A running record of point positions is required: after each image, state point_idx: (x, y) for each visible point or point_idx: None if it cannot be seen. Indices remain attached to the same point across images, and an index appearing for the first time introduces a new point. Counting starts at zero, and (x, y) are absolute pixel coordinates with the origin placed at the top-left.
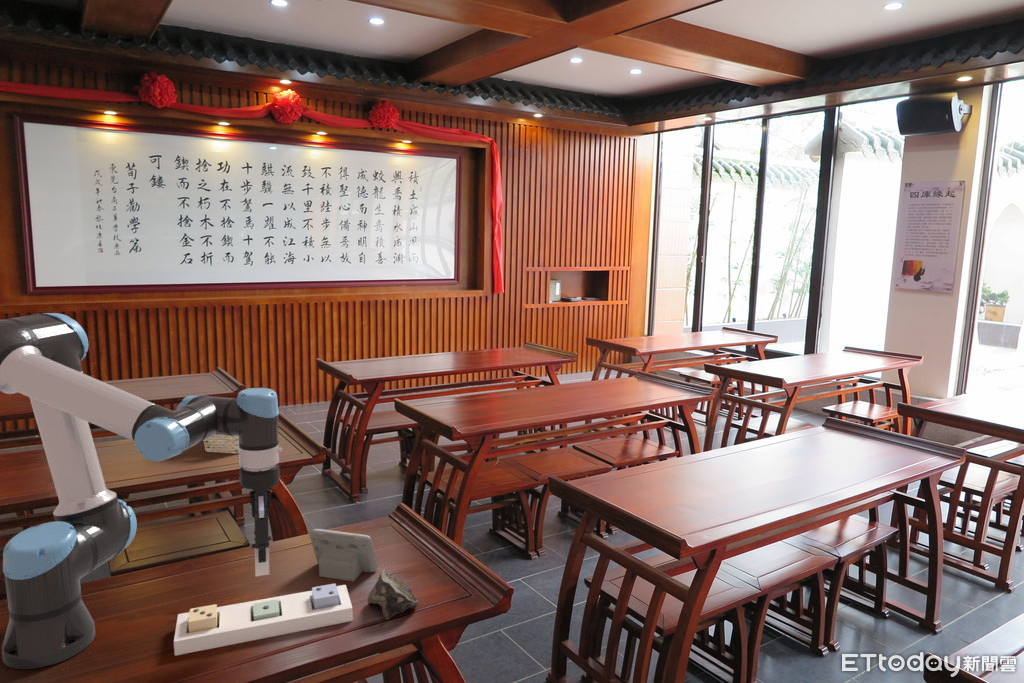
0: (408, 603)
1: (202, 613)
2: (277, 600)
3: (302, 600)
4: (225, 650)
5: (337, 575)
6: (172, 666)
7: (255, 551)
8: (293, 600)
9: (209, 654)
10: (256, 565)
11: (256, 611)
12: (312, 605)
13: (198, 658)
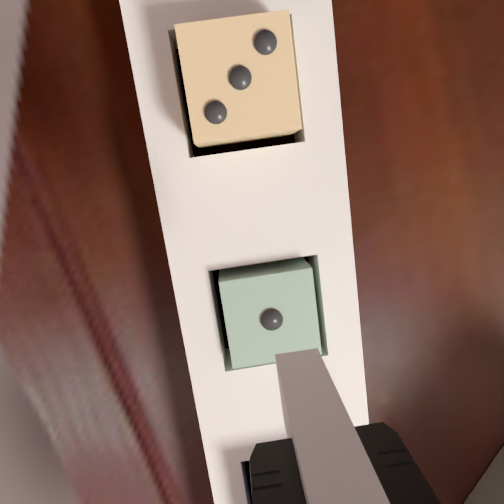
0: None
1: (231, 77)
2: None
3: None
4: (136, 186)
5: (486, 491)
6: (69, 19)
7: (303, 484)
8: None
9: (122, 137)
10: (285, 401)
11: (251, 287)
12: None
13: (104, 103)
